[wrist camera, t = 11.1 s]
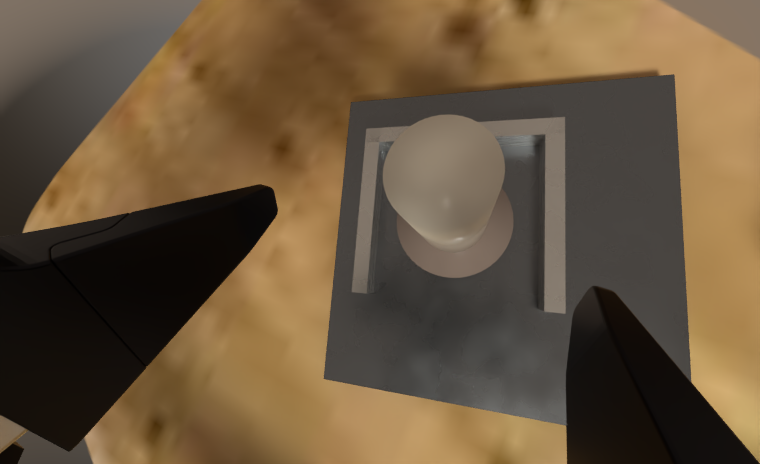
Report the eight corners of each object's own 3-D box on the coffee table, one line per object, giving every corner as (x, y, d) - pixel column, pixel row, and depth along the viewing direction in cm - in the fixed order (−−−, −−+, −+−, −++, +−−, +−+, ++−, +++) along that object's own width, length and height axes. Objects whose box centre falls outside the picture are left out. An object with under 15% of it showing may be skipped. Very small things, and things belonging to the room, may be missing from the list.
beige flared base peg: (520, 271, 18) (580, 263, 9) (405, 283, 20) (350, 286, 10) (500, 161, 19) (534, 48, 10) (394, 181, 21) (336, 102, 12)
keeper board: (663, 85, 18) (692, 56, 16) (681, 439, 16) (719, 468, 13) (355, 109, 24) (343, 90, 22) (330, 374, 21) (313, 386, 19)
